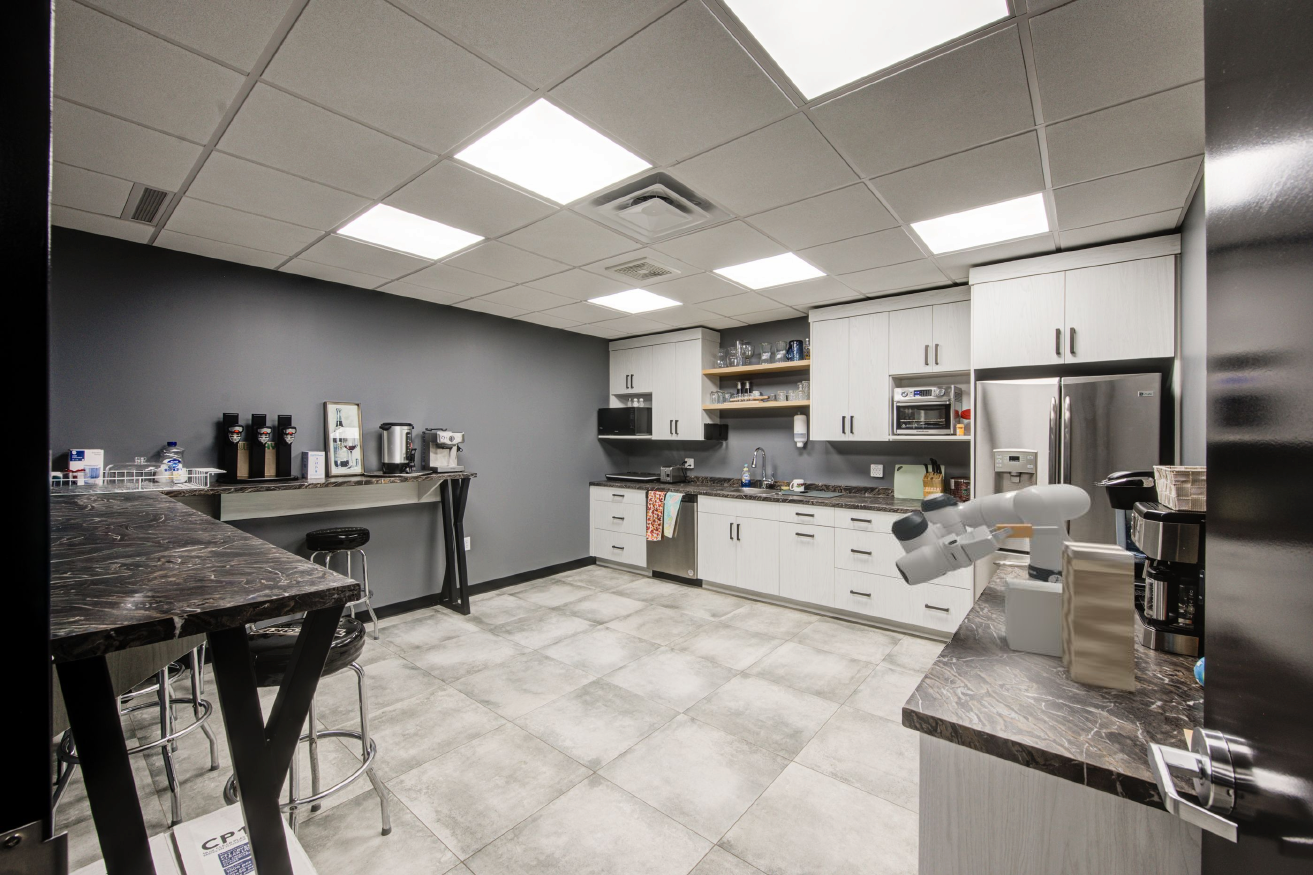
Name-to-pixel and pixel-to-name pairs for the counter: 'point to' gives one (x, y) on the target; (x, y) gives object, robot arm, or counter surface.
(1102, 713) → the counter surface
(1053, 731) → the counter surface
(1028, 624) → the pedestal
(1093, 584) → the socket tower
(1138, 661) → the counter surface
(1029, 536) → the plug
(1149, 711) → the counter surface
